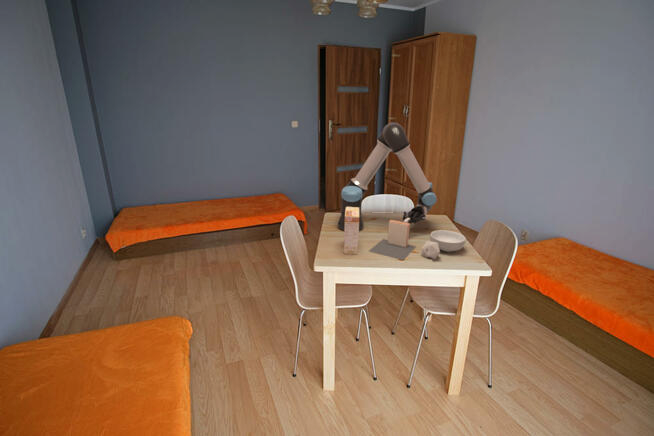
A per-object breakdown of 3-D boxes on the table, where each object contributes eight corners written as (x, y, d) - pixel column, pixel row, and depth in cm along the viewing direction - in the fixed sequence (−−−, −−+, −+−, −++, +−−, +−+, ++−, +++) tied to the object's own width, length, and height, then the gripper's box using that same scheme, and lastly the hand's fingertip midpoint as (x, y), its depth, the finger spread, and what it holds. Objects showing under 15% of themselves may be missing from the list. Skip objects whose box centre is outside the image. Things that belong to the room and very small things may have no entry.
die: (418, 254, 171) (417, 244, 163) (431, 244, 172) (431, 234, 165) (430, 266, 166) (430, 256, 158) (443, 255, 167) (444, 245, 160)
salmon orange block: (387, 243, 179) (388, 221, 175) (389, 241, 182) (391, 219, 178) (405, 247, 174) (407, 225, 171) (407, 245, 177) (410, 223, 173)
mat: (368, 253, 170) (368, 251, 170) (383, 240, 185) (383, 238, 185) (403, 262, 161) (403, 260, 161) (416, 248, 176) (416, 246, 176)
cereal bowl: (437, 256, 168) (439, 243, 165) (423, 243, 183) (425, 230, 181) (470, 254, 170) (472, 241, 168) (453, 241, 186) (455, 229, 183)
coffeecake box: (344, 241, 183) (345, 206, 177) (357, 242, 182) (359, 207, 176) (343, 253, 169) (344, 215, 163) (357, 254, 168) (359, 216, 162)
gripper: (428, 220, 199) (416, 233, 179) (406, 216, 205) (392, 228, 186) (430, 207, 196) (417, 219, 177) (408, 204, 202) (393, 214, 183)
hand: (404, 223), depth 181 cm, fingers closed
